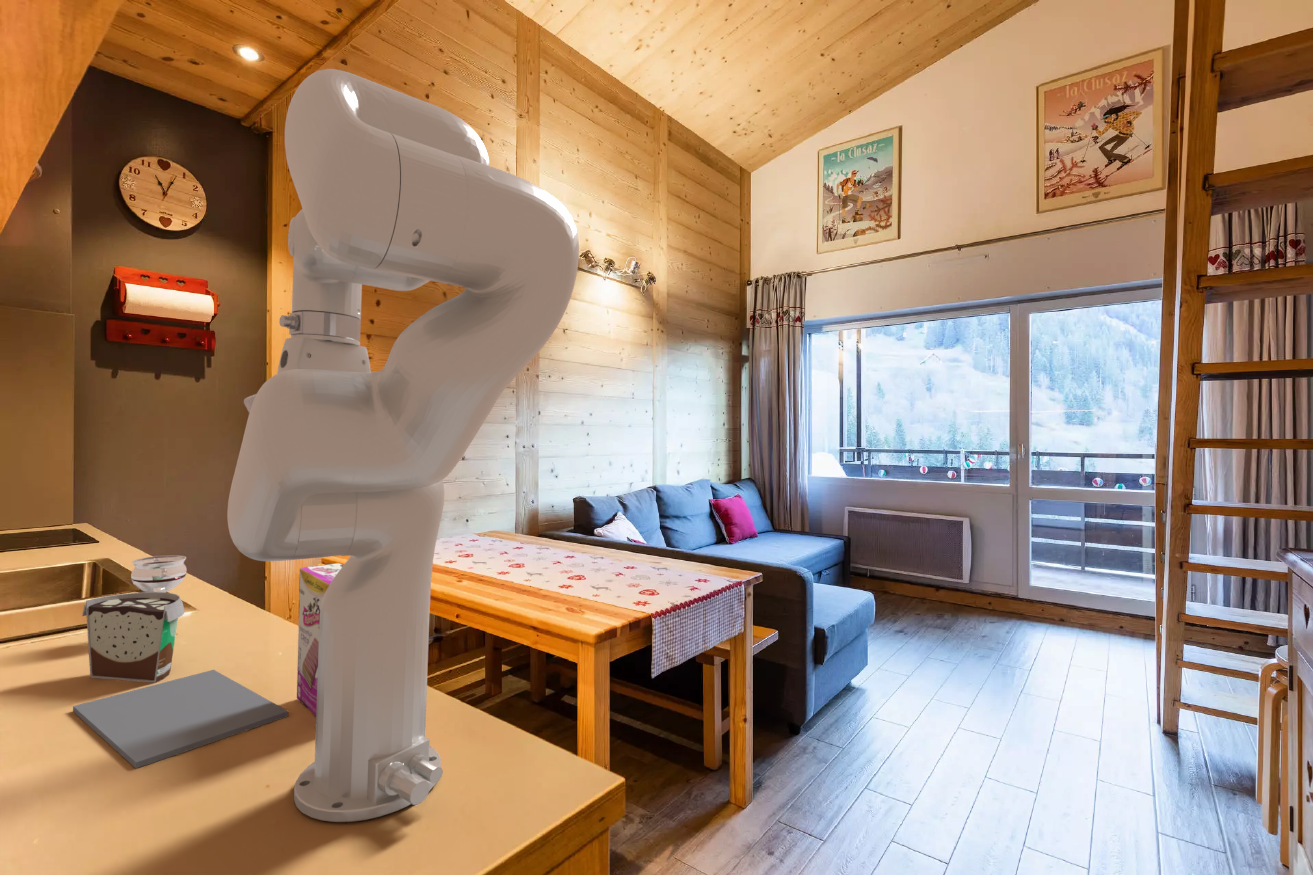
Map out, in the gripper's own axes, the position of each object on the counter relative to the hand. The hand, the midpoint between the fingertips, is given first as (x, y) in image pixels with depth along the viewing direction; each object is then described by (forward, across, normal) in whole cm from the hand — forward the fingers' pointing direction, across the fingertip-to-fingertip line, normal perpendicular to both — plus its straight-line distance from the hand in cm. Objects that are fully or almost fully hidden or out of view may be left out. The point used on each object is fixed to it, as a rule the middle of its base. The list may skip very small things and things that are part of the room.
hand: (321, 470), depth 75 cm
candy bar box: (+28, 0, -4) cm, 29 cm away
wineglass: (+28, -3, +41) cm, 50 cm away
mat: (+28, -11, +8) cm, 31 cm away
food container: (+28, -9, +26) cm, 40 cm away
